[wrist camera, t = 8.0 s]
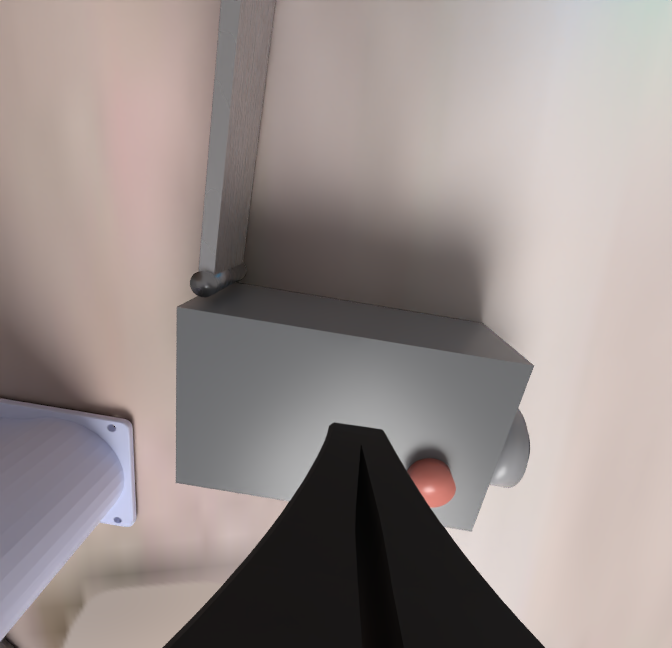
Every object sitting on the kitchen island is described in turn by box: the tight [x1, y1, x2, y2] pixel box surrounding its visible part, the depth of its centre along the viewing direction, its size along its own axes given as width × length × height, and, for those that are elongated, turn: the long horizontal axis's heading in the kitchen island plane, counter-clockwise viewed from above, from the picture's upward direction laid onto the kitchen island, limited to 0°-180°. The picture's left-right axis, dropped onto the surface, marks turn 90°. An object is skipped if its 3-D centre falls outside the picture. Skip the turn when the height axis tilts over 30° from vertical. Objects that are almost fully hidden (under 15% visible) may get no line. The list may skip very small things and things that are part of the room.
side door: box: [190, 0, 276, 298], centre depth 13 cm, size 13×2×4 cm, turn 168°
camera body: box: [176, 283, 534, 532], centre depth 15 cm, size 15×8×6 cm, turn 81°
